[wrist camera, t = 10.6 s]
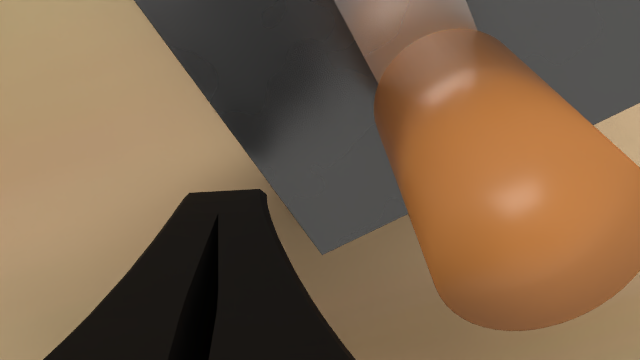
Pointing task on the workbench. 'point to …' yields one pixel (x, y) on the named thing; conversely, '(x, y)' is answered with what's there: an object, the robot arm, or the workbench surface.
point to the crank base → (369, 89)
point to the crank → (496, 169)
